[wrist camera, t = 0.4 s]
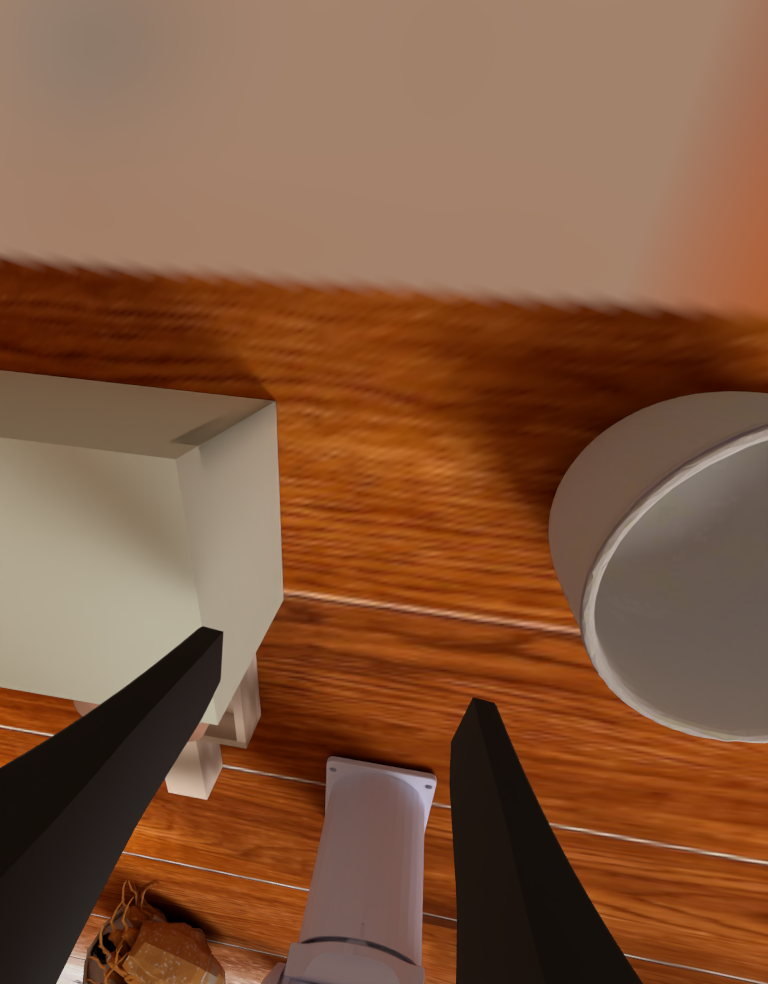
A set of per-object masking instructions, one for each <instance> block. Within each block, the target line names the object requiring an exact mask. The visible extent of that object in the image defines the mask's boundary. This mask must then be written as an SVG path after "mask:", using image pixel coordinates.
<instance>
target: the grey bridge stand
mask: <svg viewBox="0 0 768 984" xmlns="http://www.w3.org/2000/svg"><path fill="white" fill-rule="evenodd" d="M282 602H283V575H282V548H281V522H280V495H279V468H278V442H277V415H276V401H272V400H263V399H254V398H245V397H236V396H227V395H218V394H209V393H200V392H191V391H182V390H173V389H164V388H155V387H146V386H137V385H128V384H119V383H111V382H102V381H93V380H84V379H75V378H66V377H57V376H48V375H39V374H30V373H21V372H12V371H3V370H0V687H3V688H9V689H15V690H20V691H26V692H32V693H37V694H43V695H49V696H54V697H60V698H66V699H72V700H77V701H83V702H89V703H94V704H101V703H103V702H104V701H106V700H107V699H109V698H110V697H111V696H113V695H114V694H116V693H117V692H119V691H120V690H121V689H123V688H124V687H125V686H127V685H128V684H129V683H131V682H132V681H133V680H135V679H136V678H137V677H139V676H140V675H141V674H142V673H144V672H145V671H146V670H148V669H149V668H150V667H152V666H153V665H154V664H156V663H157V662H158V661H159V660H161V659H162V658H163V657H164V656H166V655H167V654H168V653H169V652H171V651H172V650H173V649H174V648H175V647H177V646H178V645H179V644H180V643H182V642H183V641H184V640H185V639H186V638H188V637H189V636H190V635H191V634H192V633H194V632H195V631H196V630H197V629H198V628H200V627H202V626H204V627H208V628H212V629H216V630H219V631H223V632H224V633H223V650H222V668H221V681H220V683H219V685H218V687H217V689H216V691H215V693H214V695H213V698H212V700H211V702H210V704H209V706H208V708H207V710H206V712H205V714H204V716H203V718H202V719H201V721H200V722H202V723H208V724H214V725H218V724H219V722H220V720H221V718H222V716H223V714H224V712H225V711H226V709H227V707H228V705H229V703H230V701H231V699H232V697H233V695H234V693H235V691H236V689H237V688H238V686H239V684H240V682H241V680H242V678H243V676H244V674H245V672H246V670H247V668H248V667H249V665H250V663H251V661H252V659H253V657H254V655H255V653H256V651H257V649H258V647H259V646H260V644H261V642H262V640H263V638H264V636H265V634H266V632H267V630H268V628H269V626H270V624H271V623H272V621H273V619H274V617H275V615H276V613H277V611H278V609H279V607H280V605H281V603H282Z"/></svg>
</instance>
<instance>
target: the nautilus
mask: <svg viewBox="0 0 768 984" xmlns="http://www.w3.org/2000/svg"><path fill="white" fill-rule="evenodd" d="M126 882H127V880H126V881H125V882H124V885H123V887H122V901H121V903H119V905H118V906H117V908H116V909H115V911H114V913H113V916H112V917H111V918H110V919H109V920H108V921H107V922H105V923H104V924H103V926H102V929H101V930H100V932H99V933H98V935H97V937H96V938H95V940H94V941H93V943H92V944H91V945H90V947H89V948H88V949H87V956H86V960H85V964H84V975H83V984H226V983H225V971H224V970H223V967H222V966H221V965H220V963H219V962H218V961H217V959H216V958H215V957H214V956H213V955H212V954H211V953H212V951H211V950H210V948H209V946H208V945H207V941H206V937H205V934H204V932H203V930H202V929H200V928H192V927H191V926H190V925H187V924H186V923H185V922H184V923H169V922H168V921H167V920H166V918H165V916H164V914H163V912H162V911H161V910H159V909H157V908H155V907H152V906H151V905H149V904H148V902H147V901H146V900H145V898H144V894H145V892H146V890H147V889H148V888H149V887H151V886H152V885H154V884H156V883H159V882H155V883H152V884H150V885H149V886H148V887H147V888H145V889H144V890H143V891H142V892H141V895H140V897H141V903H140V900H139V891H138V890H137V889H136V888H135V884H134V888H135V890H136V891H135V890H133V889H132V887H131V884H130V881H129V879H128V884H129V887H130V890H131V891H132V892H134V894H135V906H131V907H129V904H130V902H131V901H132V899H133V898H134V897H132V898H131V900H130V901H129V903H128V904H125V902H124V901H125V899H124V887H125V883H126ZM137 902H138V904H137ZM121 904H123V906H122V907H121ZM119 906H120V909H119V910H118V908H119ZM117 910H118V911H117Z"/></svg>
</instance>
